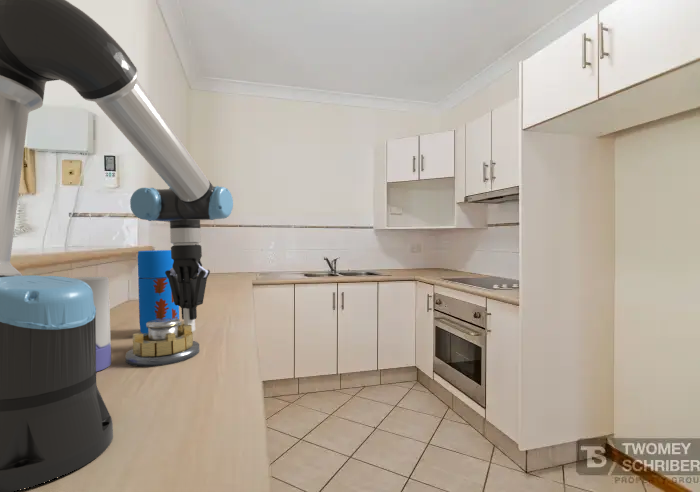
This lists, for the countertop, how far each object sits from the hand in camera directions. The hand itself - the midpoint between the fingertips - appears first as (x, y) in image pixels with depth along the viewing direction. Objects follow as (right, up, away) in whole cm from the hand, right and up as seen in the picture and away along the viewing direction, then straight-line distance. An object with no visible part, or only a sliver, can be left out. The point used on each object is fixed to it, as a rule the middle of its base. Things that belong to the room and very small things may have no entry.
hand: (189, 331), depth 98 cm
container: (-15, -4, -18) cm, 24 cm away
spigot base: (-2, -4, -9) cm, 10 cm away
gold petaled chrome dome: (-2, -2, -6) cm, 7 cm away
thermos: (-15, -4, +13) cm, 20 cm away
